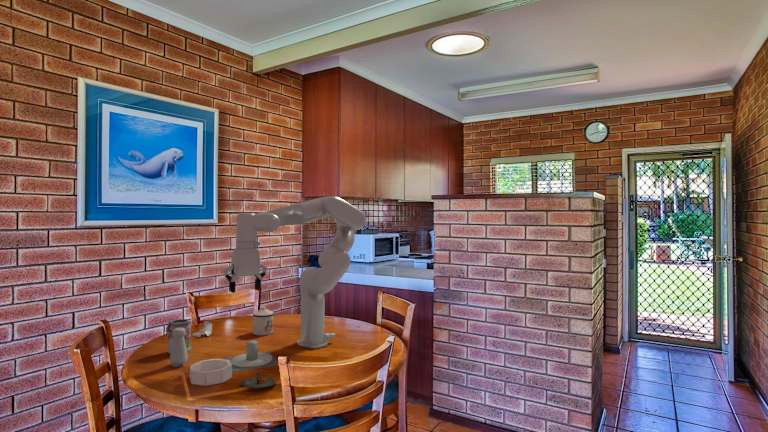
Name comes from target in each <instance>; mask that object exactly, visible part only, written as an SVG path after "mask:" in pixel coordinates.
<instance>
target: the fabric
mask: <svg viewBox="0 0 768 432" xmlns="http://www.w3.org/2000/svg"><path fill="white" fill-rule="evenodd" d="M212 332H213V323H212V322H210V321H205V320H204V324H203V328H202V329H200V330H199V329H198V331H195V332H194V333H191V336H192V337H196V338H201V337H203V338H205V335H206V336H207V337H210V335H212Z"/></svg>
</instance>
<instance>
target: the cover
mask: <svg viewBox="0 0 768 432" xmlns="http://www.w3.org/2000/svg"><path fill="white" fill-rule="evenodd" d="M245 342H246V343H245V347H246V348H245V353H242V354H239V355H235V356H236V357H234V356H233V357H234V358H232V360H231V364H232V365H233V366H235V367H239V368H254V367H260V366H264V365H267V364H269V363H270V362H271V361H272V356H273V355H272V354H271V355H272V356H271V355H269V354H266V353H261V352H259V341H258V340H254V339H253V340H248V341H245Z"/></svg>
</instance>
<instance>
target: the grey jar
mask: <svg viewBox="0 0 768 432" xmlns="http://www.w3.org/2000/svg"><path fill="white" fill-rule="evenodd" d="M191 324H192V321H191V320H189V319H185V318H178V319H172V320H169V321H168V324H167V326H166V327H165V333H166V334H167V353H168V354H169V356H170V355H171V351H172V346H173V341H174V336H173V335H172V331H173V330H174V329H175V328H184V329H185V330H186V333H185V335H184V339H185V344H186V349H187V353H188V352H190V351H191V350H192V325H191Z"/></svg>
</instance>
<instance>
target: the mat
mask: <svg viewBox="0 0 768 432" xmlns="http://www.w3.org/2000/svg"><path fill="white" fill-rule="evenodd" d="M260 353H266V354H269V355H271V356H272V361H271V362H270V363H269V364H267V365H264V366H260V367H254V368H239V367H235V366H233V365H232V373H237V372H243V371H249V370H256V369H261V368H268V367H273V366H274V367H275V366H279V365H278V362H277V361H278V360H277V359H276V358H275V357H274V356H273V355H272V353H271V352H270V351H263V352H260ZM236 356H237V355H235V356H228V357H224V359H225V360H230V362H231V360H232V358H234V357H236Z"/></svg>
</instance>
